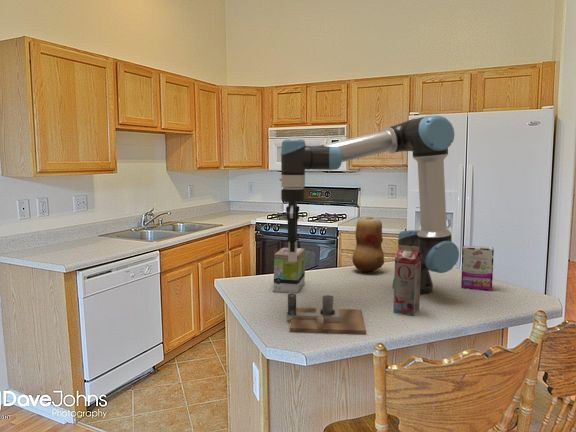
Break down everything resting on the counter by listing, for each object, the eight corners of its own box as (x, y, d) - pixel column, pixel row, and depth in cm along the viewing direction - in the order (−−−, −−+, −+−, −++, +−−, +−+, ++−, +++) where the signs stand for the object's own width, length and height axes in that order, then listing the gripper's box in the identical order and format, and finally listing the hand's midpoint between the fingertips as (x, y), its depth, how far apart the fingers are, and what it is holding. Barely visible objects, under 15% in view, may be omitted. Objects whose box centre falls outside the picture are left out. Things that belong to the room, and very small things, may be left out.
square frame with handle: (339, 314, 137) (339, 292, 136) (339, 322, 130) (339, 299, 129) (288, 312, 138) (287, 291, 137) (285, 320, 131) (285, 298, 130)
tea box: (298, 293, 163) (298, 255, 162) (273, 292, 165) (272, 254, 164) (305, 282, 178) (305, 247, 176) (281, 281, 180) (281, 246, 178)
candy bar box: (491, 287, 170) (493, 246, 168) (492, 291, 165) (494, 249, 163) (460, 285, 174) (462, 244, 172) (460, 288, 170) (462, 247, 168)
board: (361, 313, 142) (361, 289, 141) (366, 334, 124) (366, 307, 123) (294, 311, 144) (294, 287, 143) (289, 332, 126) (289, 305, 125)
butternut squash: (354, 275, 189) (355, 219, 186) (350, 268, 202) (351, 215, 199) (386, 275, 189) (388, 218, 186) (380, 268, 202) (381, 215, 199)
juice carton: (413, 316, 139) (416, 248, 136) (393, 312, 142) (395, 246, 139) (419, 310, 144) (421, 245, 142) (399, 306, 148) (401, 243, 145)
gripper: (283, 187, 145) (283, 256, 147) (278, 189, 132) (278, 265, 134) (305, 187, 144) (305, 257, 147) (303, 189, 131) (302, 266, 134)
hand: (292, 261), depth 141 cm, fingers closed
